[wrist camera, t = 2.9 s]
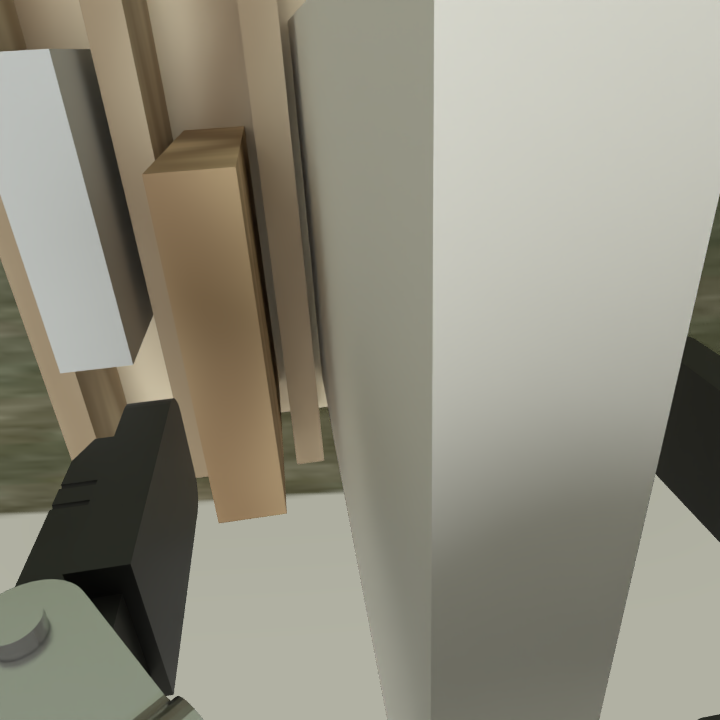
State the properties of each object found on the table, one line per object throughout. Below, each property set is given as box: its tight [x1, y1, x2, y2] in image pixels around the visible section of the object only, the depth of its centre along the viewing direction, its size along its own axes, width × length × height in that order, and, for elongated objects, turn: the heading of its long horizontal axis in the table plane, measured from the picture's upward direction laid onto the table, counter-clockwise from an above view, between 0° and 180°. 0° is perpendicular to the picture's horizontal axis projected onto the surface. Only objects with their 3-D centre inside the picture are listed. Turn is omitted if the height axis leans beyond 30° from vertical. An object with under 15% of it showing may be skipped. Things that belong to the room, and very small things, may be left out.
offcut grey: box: [0, 49, 153, 373], centre depth 18 cm, size 2×8×6 cm, turn 3°
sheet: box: [288, 0, 720, 720], centre depth 14 cm, size 2×13×18 cm, turn 3°
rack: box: [0, 0, 328, 478], centre depth 20 cm, size 16×16×5 cm
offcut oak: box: [142, 126, 287, 523], centre depth 19 cm, size 2×10×8 cm, turn 3°
